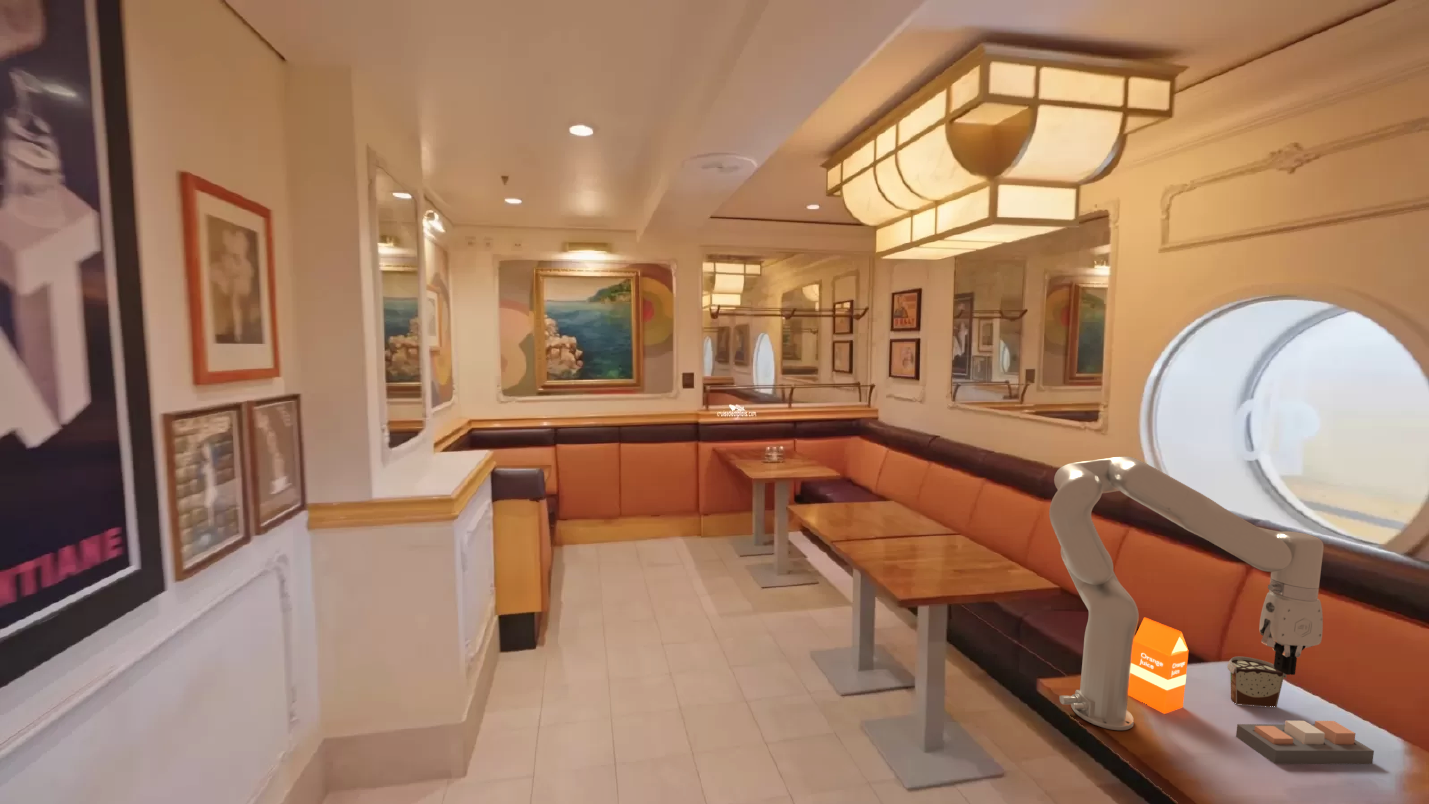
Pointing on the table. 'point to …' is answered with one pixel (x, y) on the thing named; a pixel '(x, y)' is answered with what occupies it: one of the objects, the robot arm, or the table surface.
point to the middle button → (1304, 732)
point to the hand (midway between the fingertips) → (1284, 671)
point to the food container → (1254, 682)
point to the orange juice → (1158, 666)
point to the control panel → (1303, 749)
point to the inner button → (1273, 735)
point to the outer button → (1336, 732)
